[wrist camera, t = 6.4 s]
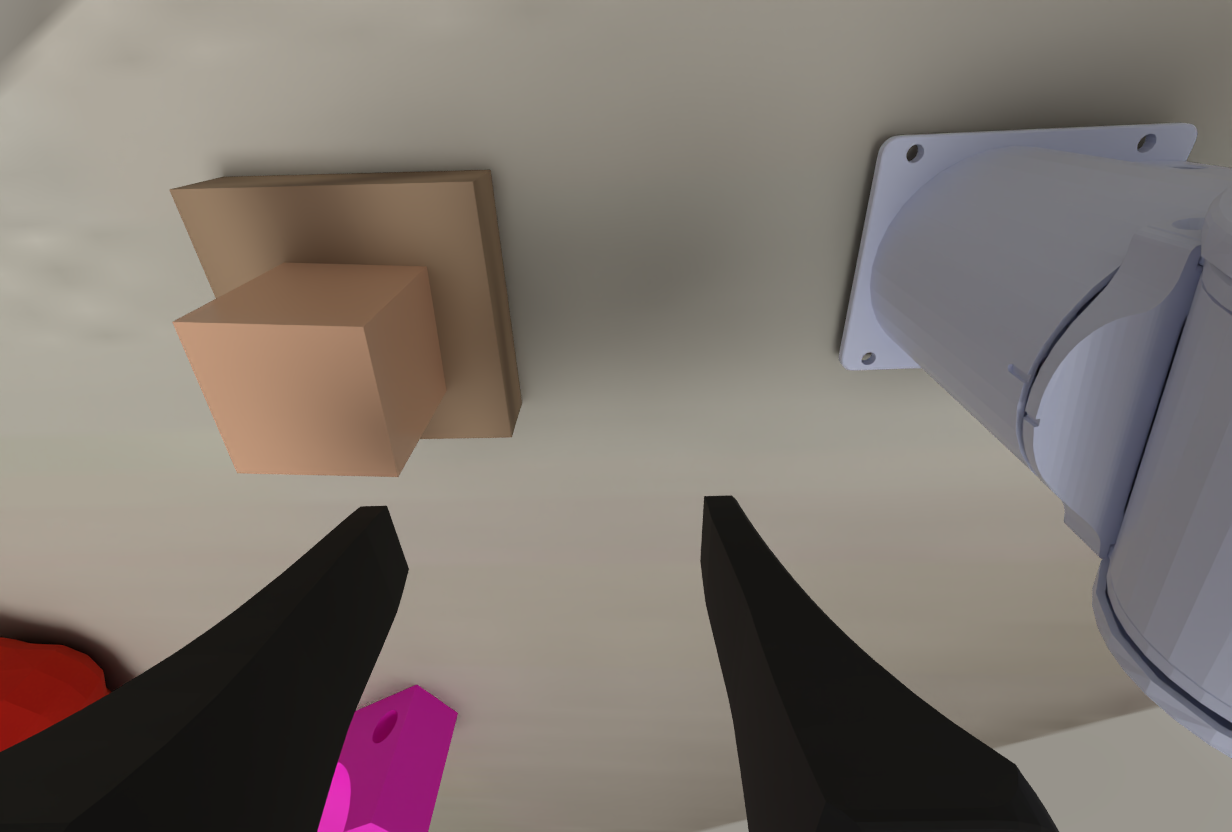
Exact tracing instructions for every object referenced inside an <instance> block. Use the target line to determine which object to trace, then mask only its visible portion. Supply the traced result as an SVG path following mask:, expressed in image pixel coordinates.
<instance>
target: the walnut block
mask: <svg viewBox="0 0 1232 832" xmlns="http://www.w3.org/2000/svg"><path fill="white" fill-rule="evenodd" d="M170 192H171V194H172V197H173V199H174V201H175V204H176V206H177V208H178V211H179V213H180V215H181V218H182V220H183V222H184V225H185V227H186V229H187V232H188V234H189V236H190V239H191V241H192V243H193V246H194V248H195V250H196V253H197V255H198V257H199V260H200V262H201V265H202V267H203V269H204V272H205V274H206V276H207V279H208V281H209V283H210V286H211V288H212V290H213V293H214V295H215V297H216V298H218V297H220V296H222V295H224V294H226V293H228V292H230V291H232V290H233V289H235V288H237V287H239V286H241V285H243V284H245V283H247V282H248V281H250V280H252V279H254V278H256V277H258V276H260V275H262V274H263V273H265V272H267V271H269V270H271V269H273V268H275V267H277V266H278V265H280V264H282V263H319V264H356V265H393V266H427V270H428V276H429V283H430V289H431V295H432V302H433V308H434V314H435V321H436V327H437V333H438V340H439V346H440V352H441V359H442V365H443V371H444V378H445V384H446V390H447V391H446V393H445V395H444V396H443V398H442V400H441V402H440V404H439V405H438V407H437V409H436V411H435V412H434V414H433V416H432V418H431V420H430V421H429V423H428V425H427V427H426V428H425V430H424V432H423V434H422V436H421V437H420V439H444V438H499V437H512V434H513V431H514V428H515V425H516V421H517V418H518V415H519V411H520V408H521V405H522V400H521V392H520V385H519V378H518V370H517V363H516V355H515V348H514V341H513V333H512V326H511V318H510V311H509V303H508V296H507V289H506V281H505V274H504V266H503V259H502V252H501V244H500V237H499V229H498V222H497V215H496V207H495V200H494V192H493V185H492V178H491V170H464V171H426V172H389V173H351V174H314V175H277V176H239V177H220V178H216V179H212V180H208V181H203V182H199V183H195V184H191V185H187V186H182V187H178V188H174V189H170Z"/></svg>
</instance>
